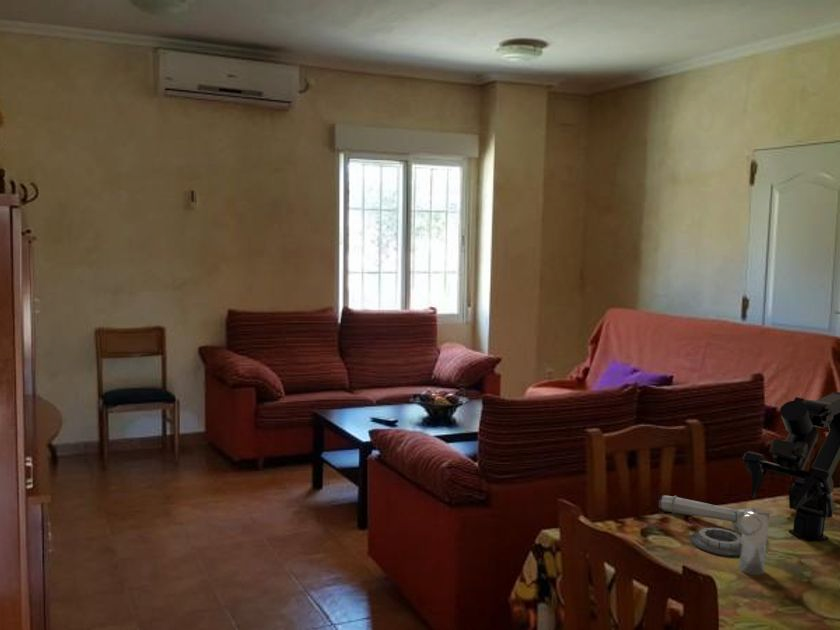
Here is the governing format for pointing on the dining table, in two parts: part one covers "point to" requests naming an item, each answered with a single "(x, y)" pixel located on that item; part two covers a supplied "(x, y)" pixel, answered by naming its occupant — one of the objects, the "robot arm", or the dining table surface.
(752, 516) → the elbow
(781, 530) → the dining table surface
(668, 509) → the grey pipe
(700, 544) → the collar
